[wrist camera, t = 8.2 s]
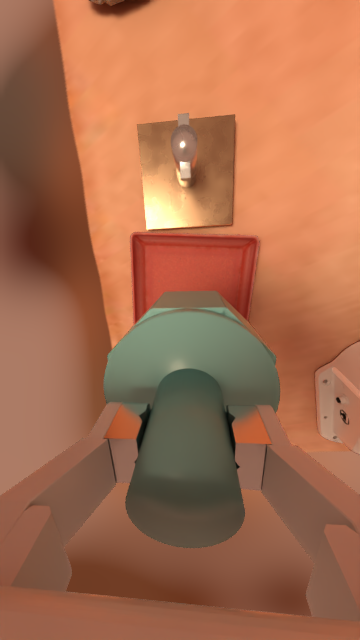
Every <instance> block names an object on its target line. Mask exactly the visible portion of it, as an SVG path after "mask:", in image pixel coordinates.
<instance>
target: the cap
mask: <svg viewBox="0 0 360 640" xmlns="http://www.w3.org/2000/svg"><path fill="white" fill-rule="evenodd" d="M107 357H108V364H107V366H106V371H105V375H104V395H105V399H106V403H107V404H108V403H109V402H134V403H149V404H150V407H151V412H150V416H149V419H148V422H147V426H146V429H145V433H144V436H143V440H142V443H141V447H140V450H139V454H138V457H137V461H136V464H135V468H134V471H133V475H132V478H131V482H130V485H129V489H128V492H127V496H126V502H125V503H126V510H127V514H128V516H129V518H130V519H131V521H132V522H133V524H134V525H135V526H136V527H137V528H138V529H139V530H140V531H142V532H143V533H144V534H146V535H147V536H149V537H151V538H153V539H155V540H157V541H159V542H162V543H164V544H168V545H171V546H176V547H183V548H202V547H208V546H213V545H216V544H219V543H221V542H224V541H226V540H227V539H229V538H230V537H232V536H233V535H234V534H236V532H237V531H238V530H239V529H240V527H241V526H242V524H243V521H244V517H245V509H244V504H243V499H242V494H241V488H240V483H239V478H238V473H237V468H236V462H235V457H234V452H233V447H232V442H231V436H230V431H229V426H228V421H227V416H226V406H227V405H270V406H272V408H273V410H274V412H275V414H276V412H277V409H278V404H279V400H280V383H279V377H278V373H277V369H276V367H275V364H276V356H275V354H274V353H273V352H272V350H271V349H270V348H269V347H268V345H267V344H266V343H265V342H264V340H263V339H262V338H261V337H260V335H259V334H258V333H257V332H256V330H255V329H254V328H253V327H252V325H251V324H250V323H249V322H248V321H247V320H246V319H245V318H244V317H243V316H242V315H241V314H240V313H239V312H238V311H237V310H236V309H235V308H234V307H233V306H232V305H231V304H229V303H228V302H227V301H226V300H225V299H224V298H223V297H222V296H221V295H220V294H219V293H218V292H216V291H174V292H164V293H163V294H162V295H161V296H160V297H159V299H158V300H157V301H156V302H155V303H154V304H153V305H152V306H151V307H150V308H149V309H148V310H147V312H146V313H145V314H144V315H143V316H142V317H141V318H140V319H139V320H138V321H137V322H136V323H135V325H134V326H133V327H132V328H131V329H130V330H129V331H128V332H127V334H126V335H125V336H124V337H123V338H122V339H121V340H120V342H119V343H118V344H117V345H116V346H115V347H114V348H113V349H112V351H111V352H110V353H109V354H108V356H107Z"/></svg>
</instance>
